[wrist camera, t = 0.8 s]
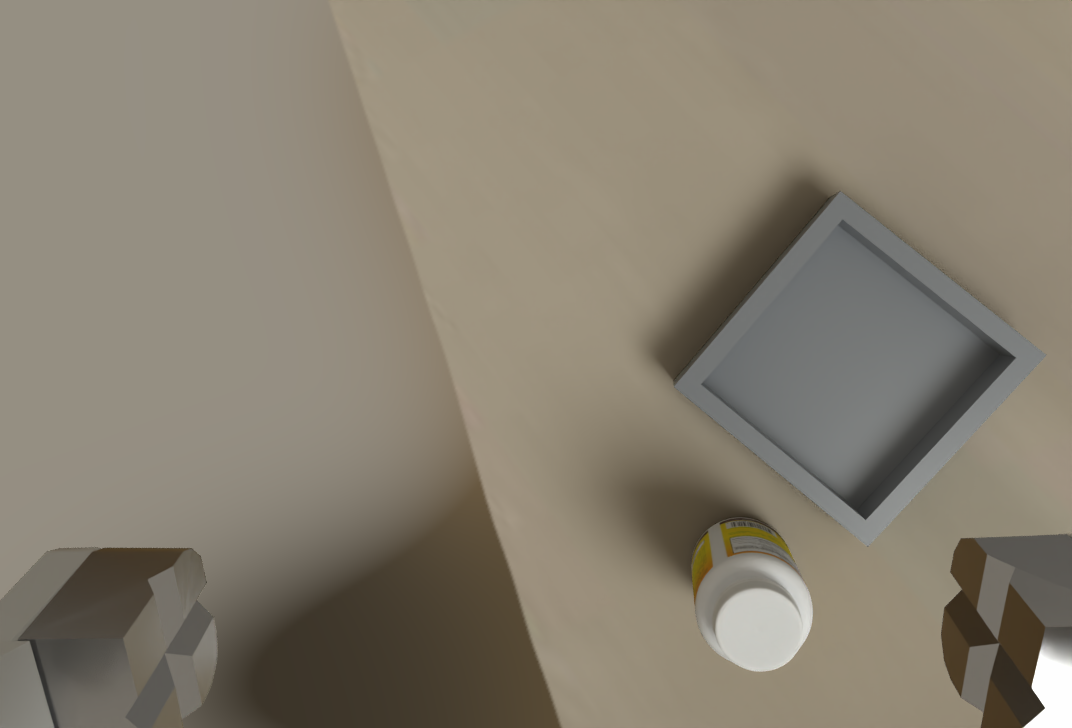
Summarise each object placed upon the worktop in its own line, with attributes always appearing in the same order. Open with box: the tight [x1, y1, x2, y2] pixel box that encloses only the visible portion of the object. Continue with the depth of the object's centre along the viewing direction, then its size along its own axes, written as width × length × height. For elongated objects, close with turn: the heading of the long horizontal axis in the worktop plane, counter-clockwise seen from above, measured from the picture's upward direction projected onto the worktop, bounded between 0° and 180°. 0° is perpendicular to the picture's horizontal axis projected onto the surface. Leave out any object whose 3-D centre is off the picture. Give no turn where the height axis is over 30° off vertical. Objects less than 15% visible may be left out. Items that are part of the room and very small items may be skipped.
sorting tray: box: [674, 191, 1046, 547], centre depth 48 cm, size 13×13×3 cm
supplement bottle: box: [691, 517, 813, 671], centre depth 46 cm, size 6×6×10 cm
